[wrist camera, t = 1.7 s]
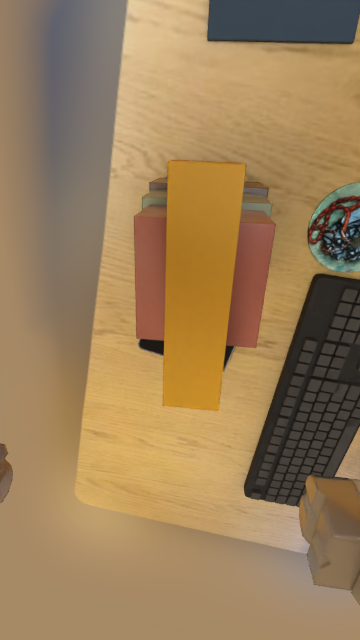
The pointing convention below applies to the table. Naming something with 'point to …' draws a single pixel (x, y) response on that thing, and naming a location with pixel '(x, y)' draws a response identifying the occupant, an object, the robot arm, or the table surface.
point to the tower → (247, 272)
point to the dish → (337, 230)
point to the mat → (284, 21)
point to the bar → (199, 277)
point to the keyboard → (312, 396)
